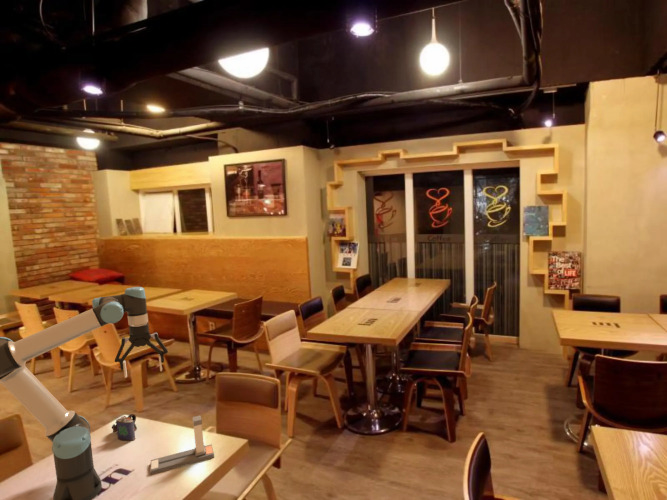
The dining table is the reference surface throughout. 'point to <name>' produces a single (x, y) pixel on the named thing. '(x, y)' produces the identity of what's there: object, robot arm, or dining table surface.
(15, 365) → the robot arm
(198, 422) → the lever
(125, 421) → the flask
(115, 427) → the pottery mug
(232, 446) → the dining table surface
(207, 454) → the switch board
